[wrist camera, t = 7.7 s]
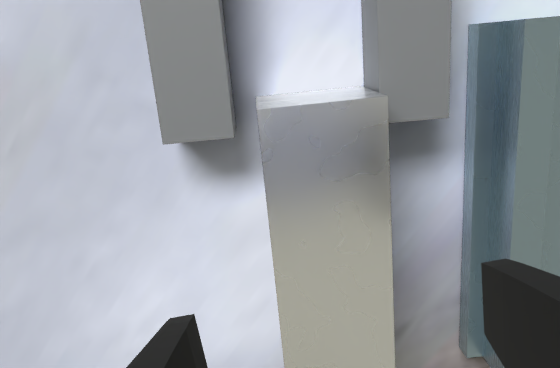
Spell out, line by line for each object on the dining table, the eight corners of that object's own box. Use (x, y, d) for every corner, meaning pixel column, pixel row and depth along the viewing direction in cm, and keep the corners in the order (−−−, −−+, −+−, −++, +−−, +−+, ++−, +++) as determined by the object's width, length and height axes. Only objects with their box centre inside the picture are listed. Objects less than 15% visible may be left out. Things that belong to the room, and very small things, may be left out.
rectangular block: (359, 85, 18) (387, 96, 14) (368, 312, 21) (395, 372, 17) (255, 95, 18) (256, 109, 14) (280, 322, 21) (286, 384, 17)
